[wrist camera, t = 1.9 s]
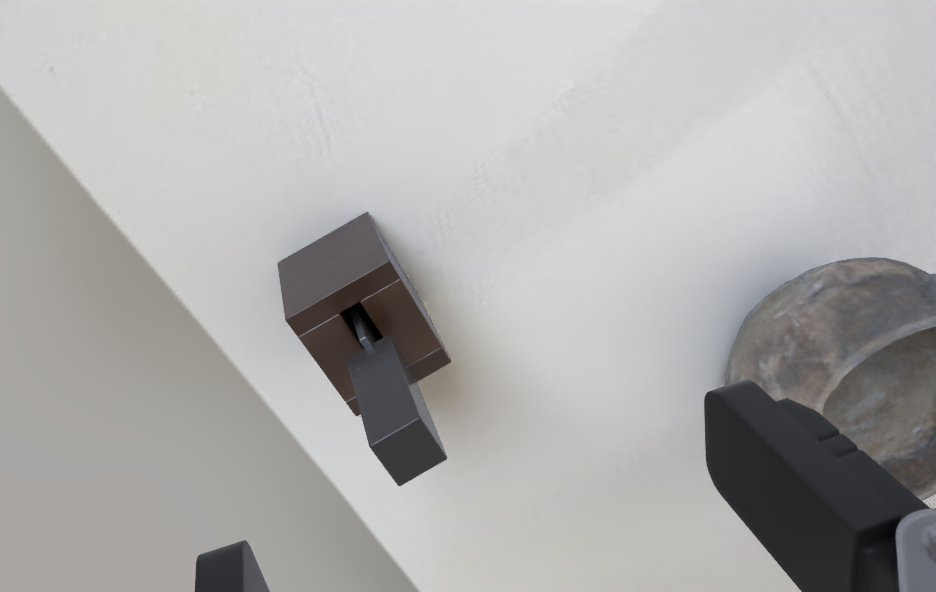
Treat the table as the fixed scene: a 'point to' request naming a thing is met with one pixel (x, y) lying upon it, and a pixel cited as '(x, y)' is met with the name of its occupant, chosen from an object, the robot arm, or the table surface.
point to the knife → (392, 404)
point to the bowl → (854, 358)
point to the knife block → (346, 283)
